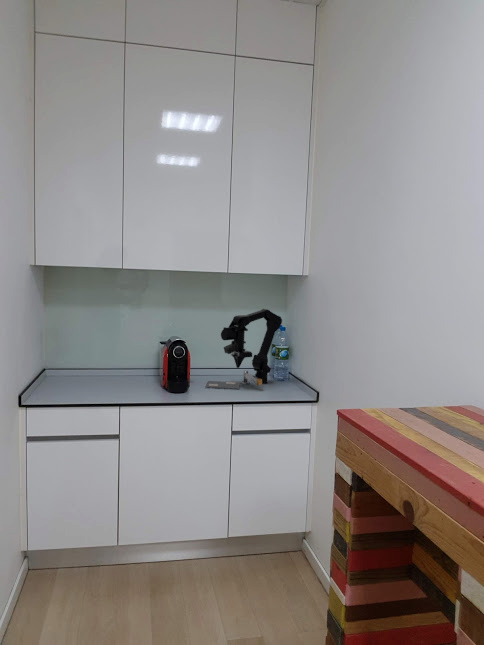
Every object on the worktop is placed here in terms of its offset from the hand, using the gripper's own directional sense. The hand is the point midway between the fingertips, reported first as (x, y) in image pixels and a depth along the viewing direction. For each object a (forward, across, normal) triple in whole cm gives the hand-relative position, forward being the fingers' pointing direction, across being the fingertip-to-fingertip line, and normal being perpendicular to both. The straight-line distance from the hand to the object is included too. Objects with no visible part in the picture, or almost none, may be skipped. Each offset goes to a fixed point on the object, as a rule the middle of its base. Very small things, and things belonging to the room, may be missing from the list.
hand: (237, 367), depth 271 cm
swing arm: (+9, +5, +7) cm, 12 cm away
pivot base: (+10, -4, +8) cm, 13 cm away
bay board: (+10, -4, -7) cm, 13 cm away
